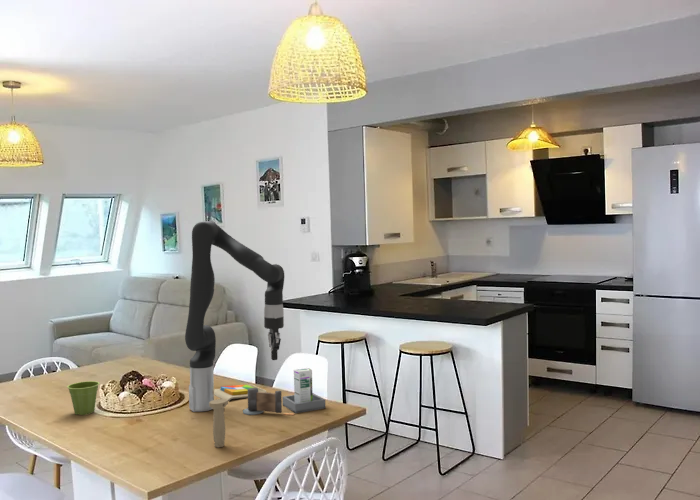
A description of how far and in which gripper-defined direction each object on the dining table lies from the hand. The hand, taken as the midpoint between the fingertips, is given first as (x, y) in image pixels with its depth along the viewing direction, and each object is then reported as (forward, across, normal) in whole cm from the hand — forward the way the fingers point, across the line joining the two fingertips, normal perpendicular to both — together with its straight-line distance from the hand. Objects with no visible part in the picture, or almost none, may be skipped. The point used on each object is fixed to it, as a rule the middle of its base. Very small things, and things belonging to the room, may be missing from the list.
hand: (274, 359), depth 240 cm
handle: (+21, +31, -25) cm, 45 cm away
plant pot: (+21, -27, -71) cm, 79 cm away
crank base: (+21, 0, -3) cm, 21 cm away
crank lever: (+20, 0, -4) cm, 20 cm away
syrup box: (+20, -3, +12) cm, 24 cm away
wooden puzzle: (+22, -32, -9) cm, 40 cm away
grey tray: (+21, -3, +12) cm, 24 cm away
